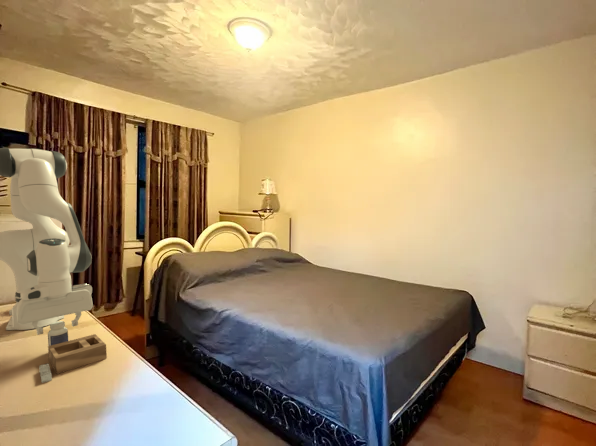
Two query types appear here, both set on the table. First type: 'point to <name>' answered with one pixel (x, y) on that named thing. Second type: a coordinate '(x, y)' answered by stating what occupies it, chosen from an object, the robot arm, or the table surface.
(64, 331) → the pill bottle
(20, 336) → the table surface
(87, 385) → the table surface
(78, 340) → the wooden compartment tray
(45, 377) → the slim grey peg
